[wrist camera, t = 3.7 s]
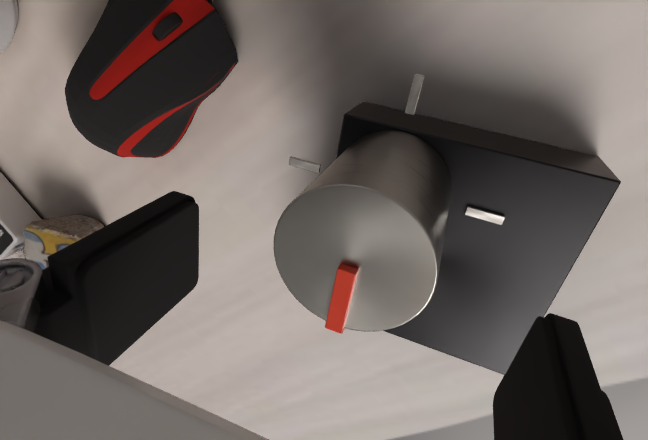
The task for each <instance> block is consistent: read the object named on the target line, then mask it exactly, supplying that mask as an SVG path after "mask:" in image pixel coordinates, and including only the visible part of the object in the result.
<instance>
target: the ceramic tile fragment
mask: <svg viewBox="0 0 648 440" xmlns="http://www.w3.org/2000/svg"><path fill="white" fill-rule="evenodd" d="M103 227H104V225H103V224H102V223H100V222H99V221H98V220H96V219H92V218H89V217H86V216H82V215H71V216H66V217H58V218H54V219H43V220H39V221H32V222H31V223H30V224H28V225H26V227H25V230H24V232H23V234H24V236H25V241H24V243H25V247H24V250H25V259H28V260H32V261H34V262H36V263H38V264H39V265H40V267H41V268H42V270H43V269H45V268H47V267H49V263H48V259H47V257H48V256H50V255H52V254H54V253H56V252H57V251H59V250H61V249H63V248H65V247H67V246H69V245H71V244H73V243H75V242H76V241H78V240H80V239H82V238H84V237H86V236H88V235H90V234H92V233H94V232H96V231H97V230H99V229H101V228H103Z"/></svg>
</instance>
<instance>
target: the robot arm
mask: <svg viewBox="0 0 648 440" xmlns="http://www.w3.org/2000/svg"><path fill="white" fill-rule="evenodd" d="M47 259H48V263H49V267H47V268H45V269H43V270H42V268H41V267H40V265H39V264H38V263H36V262H34V261H32V260H28V259H23V258H11V259H3V260H0V440H269V439H267V438H264V437H262V436H260V435H258V434H256V433H254V432H251V431H249V430H247V429H245V428H243V427H241V426H238V425H236V424H234V423H232V422H230V421H228V420H226V419H223V418H221V417H219V416H217V415H215V414H213V413H210V412H208V411H206V410H204V409H202V408H200V407H197V406H195V405H193V404H191V403H189V402H187V401H184V400H182V399H180V398H178V397H176V396H174V395H171V394H169V393H167V392H165V391H163V390H160V389H158V388H156V387H154V386H152V385H149V384H147V383H145V382H143V381H141V380H138V379H136V378H134V377H132V376H130V375H127V374H125V373H123V372H121V371H119V370H116V369H114V368H112V367H110V366H109V365H110V364H111V363H112V362H113V361H114V360H116V359H117V358H118V357H119V356H120V355H121V354H122V353H123V352H124V351H126V350H127V349H128V348H129V347H130V346H131V345H132V344H133V343H134V342H135V341H137V340H138V339H139V338H140V337H141V336H142V335H143V334H144V333H145V332H146V331H148V330H149V329H150V328H151V327H152V326H153V325H154V324H155V323H156V322H157V321H159V320H160V319H161V318H162V317H163V316H164V315H165V314H166V313H167V312H168V311H170V310H171V309H172V308H173V307H174V306H175V305H176V304H177V303H178V302H180V301H181V300H182V299H183V298H184V297H185V296H186V295H187V294H188V293H189V292H191V291H192V290H193V289H194V287H195V286H196V284H197V282H198V266H199V206H198V204H196V203H195V200H194V198H193V197H191V196H188V195H185V194H182V193H179V192H176V191H172V192H170V193H168V194H166V195H164V196H162V197H160V198H158V199H156V200H155V201H153V202H151V203H149V204H147V205H145V206H143V207H141V208H139V209H137V210H135V211H134V212H132V213H130V214H128V215H126V216H124V217H122V218H120V219H118V220H116V221H115V222H113V223H111V224H109V225H107V226H105V227H103V228H101V229H99V230H97V231H96V232H94V233H92V234H90V235H88V236H86V237H84V238H82V239H80V240H78V241H76V242H75V243H73V244H71V245H69V246H67V247H65V248H63V249H61V250H59V251H57V252H56V253H54V254H52V255H50V256H48V257H47ZM493 417H494V440H623V438H622V435H621V432H620V429H619V426H618V423H617V420H616V418H615V415H614V412H613V409H612V406H611V403H610V401H609V399H608V397H607V395H606V393H604V392H603V391H602V390H601V389H600V386H599V383H598V380H597V377H596V374H595V371H594V368H593V365H592V362H591V359H590V356H589V353H588V350H587V347H586V345H585V342H584V339H583V336H582V333H581V330H580V327H579V325H578V323H577V322H575V321H573V320H570V319H567V318H564V317H560V316H557V315H554V314H551V313H550V314H548V315H547V316H546V317H545V318H544V317H541V316H538V317H537V318H536V320H535V321H534V323H533V325H532V326H531V328H530V330H529V332H528V334H527V336H526V337H525V339H524V341H523V343H522V345H521V346H520V348H519V350H518V352H517V354H516V355H515V357H514V359H513V361H512V363H511V364H510V366H509V368H508V370H507V372H506V374H505V375H504V377H503V379H502V381H501V383H500V384H499V386H498V388H497V390H496V392H495V395H494V400H493Z"/></svg>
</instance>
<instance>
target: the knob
mask: <svg viewBox="0 0 648 440" xmlns="http://www.w3.org/2000/svg"><path fill="white" fill-rule="evenodd" d="M450 199H451V179H450V174H449V171H448V168H447V166H446V164H445V162H444V160H443V159H442V157H441V156H440V155H439V153H438V152H437V151H436V150H435V149H434V148H433V147H432V146H431V145H429V144H428V143H427V142H425V141H424V140H422V139H421V138H419V137H417V136H415V135H412V134H409V133H406V132H401V131H393V130H386V131H378V132H373V133H370V134H368V135H365V136H363V137H361V138H359V139H358V140H356V141H355V142H354V143H352V144H351V145H350V146H349V147H348V148H347V149H346V150H345V151H344V152H343V153H342V154H341V155H340V156H339V157H338V158H337V159H336V160H335V161H334V162H333V163H332V164H331V165H330V166H329V167H328V168H326V169H325V170H324V171H323V172H322V173H321V174H320V175H319V176H318V177H317V178H316V179H315V180H314V181H313V182H312V183H311V184H310V185H309V186H308V187H307V188H306V189H305V190H304V191H303V192H302V193H301V194H300V195H299V196H298V197H296V198H295V199H294V200H293V201H292V202H291V203H290V204H289V205H288V206H287V208H286V209H285V210H284V212H283V213H282V215H281V217H280V219H279V221H278V224H277V226H276V230H275V235H274V256H275V261H276V265H277V268H278V270H279V273H280V275H281V277H282V279H283V281H284V283H285V284H286V286H287V288H288V289H289V291H290V292H291V293H292V294H293V295H294V297H295V298H296V299H297V300H298V301H299V302H300V303H301V304H302V305H303V306H304V307H306V308H307V309H308V310H309V311H311V312H312V313H314V314H315V315H317V316H318V317H320V318H322V319H324V320H325V321H326V325H325V328H327V329H330V330H333V331H335V332H338V333H341V334H342V333H343V330H344V328H347V329H351V330H357V331H382V330H388V329H392V328H395V327H398V326H400V325H403V324H405V323H407V322H408V321H410V320H412V319H413V318H414V317H416V316H417V315H418V314H419V313H420V312H421V311H422V310H423V309H424V308H425V307H426V306H427V304H428V303H429V301H430V300H431V298H432V296H433V294H434V291H435V288H436V285H437V280H438V274H439V268H440V262H441V255H442V249H443V243H444V237H445V230H446V224H447V218H448V211H449V205H450Z"/></svg>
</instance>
